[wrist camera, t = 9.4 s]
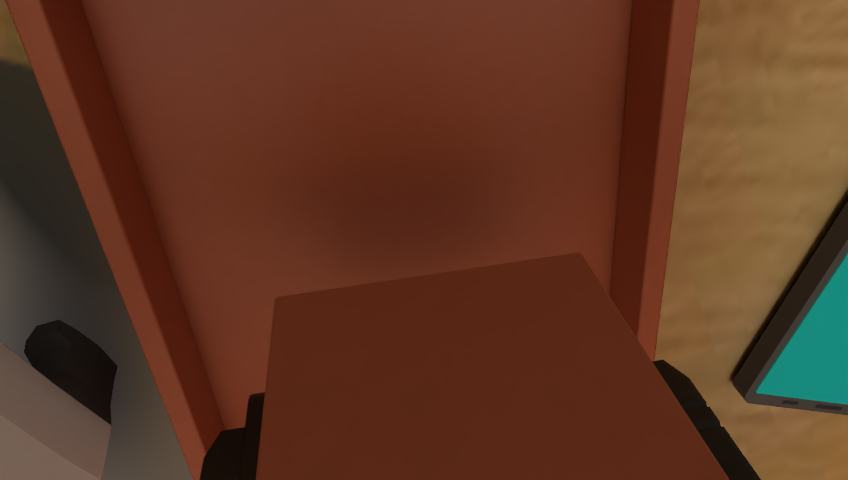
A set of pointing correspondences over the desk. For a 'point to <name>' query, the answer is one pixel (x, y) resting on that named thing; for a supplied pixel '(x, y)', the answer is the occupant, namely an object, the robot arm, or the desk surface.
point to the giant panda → (55, 406)
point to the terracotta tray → (355, 157)
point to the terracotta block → (470, 383)
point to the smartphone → (806, 337)
